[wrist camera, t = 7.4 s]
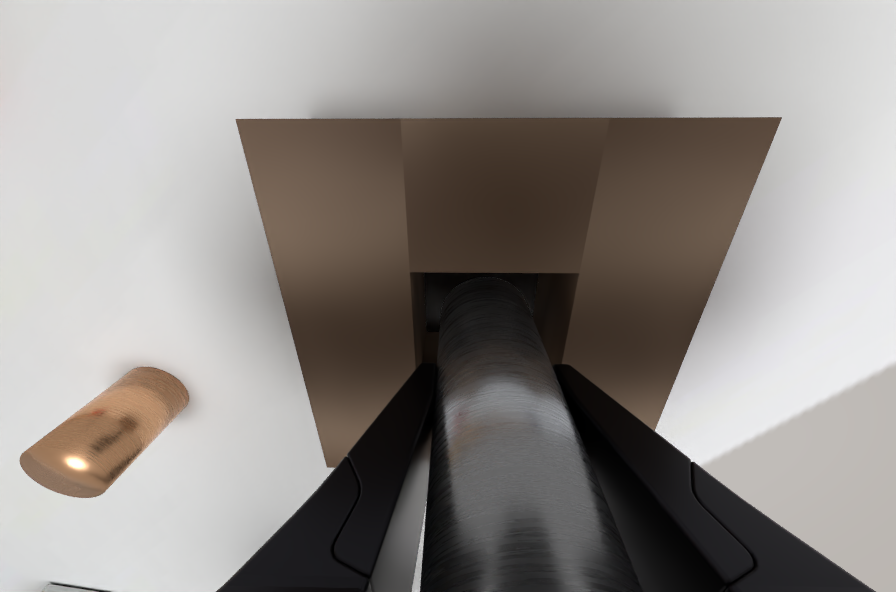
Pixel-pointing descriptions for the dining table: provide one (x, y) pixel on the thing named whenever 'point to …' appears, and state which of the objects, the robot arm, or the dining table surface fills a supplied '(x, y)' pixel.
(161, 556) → the dining table surface
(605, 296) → the hole block
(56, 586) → the supplement box
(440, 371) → the long pin
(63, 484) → the short pin
